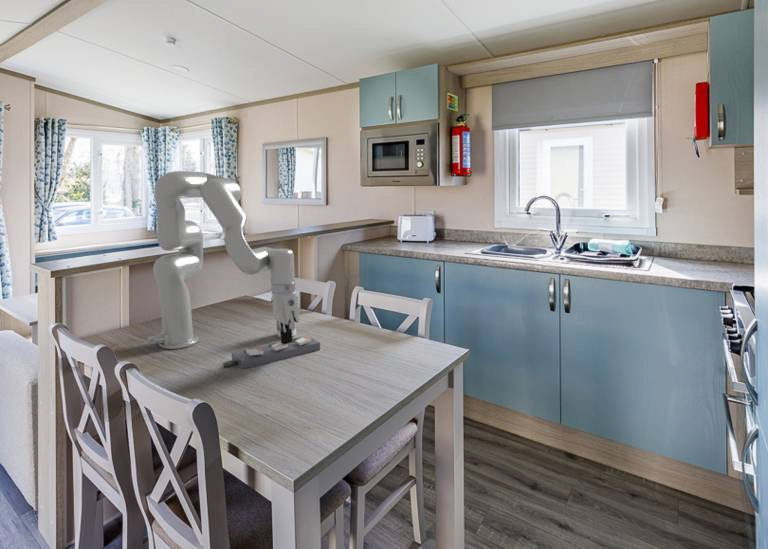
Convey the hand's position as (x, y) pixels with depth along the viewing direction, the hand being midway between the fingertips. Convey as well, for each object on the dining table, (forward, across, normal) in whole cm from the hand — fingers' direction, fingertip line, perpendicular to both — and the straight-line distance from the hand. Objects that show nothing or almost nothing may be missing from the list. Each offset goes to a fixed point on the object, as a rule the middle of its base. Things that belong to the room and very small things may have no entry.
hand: (286, 342), depth 148 cm
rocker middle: (+1, 0, +2) cm, 3 cm away
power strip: (+4, +3, +4) cm, 7 cm away
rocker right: (+1, 0, -6) cm, 6 cm away
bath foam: (+4, +18, -9) cm, 21 cm away
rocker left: (+1, 0, +11) cm, 11 cm away
